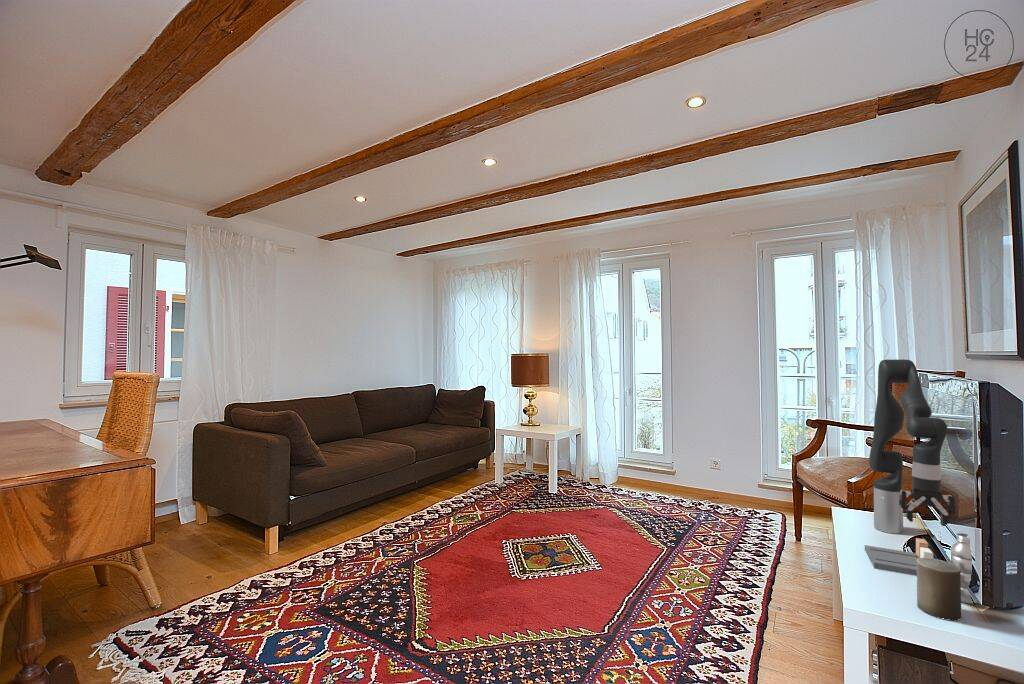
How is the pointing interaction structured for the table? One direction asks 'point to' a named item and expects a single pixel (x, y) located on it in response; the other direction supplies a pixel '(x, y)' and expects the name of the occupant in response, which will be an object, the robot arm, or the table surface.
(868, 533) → the table surface
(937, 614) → the pillar candle
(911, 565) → the fader panel
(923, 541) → the block
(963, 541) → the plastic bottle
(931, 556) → the cream fader
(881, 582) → the table surface
